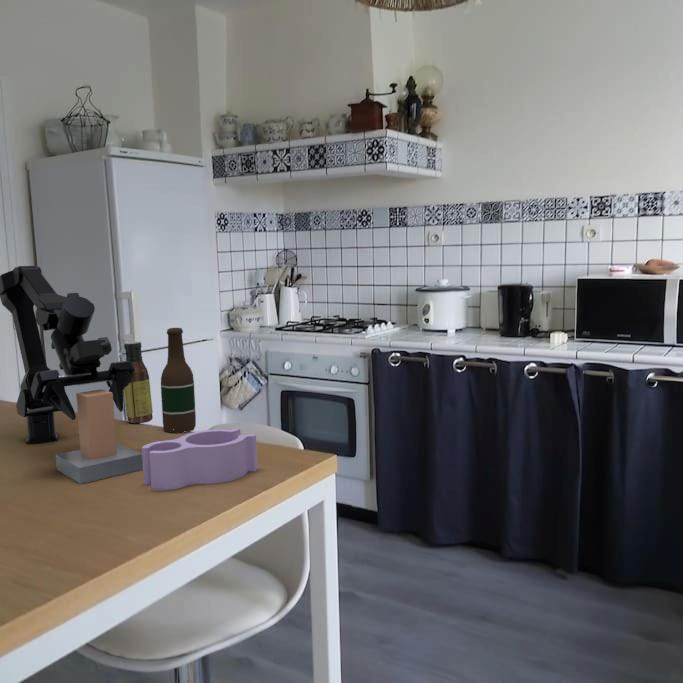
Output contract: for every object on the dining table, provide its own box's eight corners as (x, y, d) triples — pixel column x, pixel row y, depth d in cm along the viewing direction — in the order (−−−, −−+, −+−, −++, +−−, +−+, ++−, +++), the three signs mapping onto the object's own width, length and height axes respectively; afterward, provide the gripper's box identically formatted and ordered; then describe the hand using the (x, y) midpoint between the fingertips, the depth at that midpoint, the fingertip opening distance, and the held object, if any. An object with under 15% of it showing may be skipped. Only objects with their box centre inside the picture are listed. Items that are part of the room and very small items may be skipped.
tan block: (80, 454, 133) (76, 393, 131) (105, 449, 136) (101, 389, 134) (91, 459, 129) (86, 396, 127) (116, 454, 132) (112, 392, 131)
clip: (160, 497, 117) (158, 458, 116) (136, 479, 127) (133, 442, 126) (264, 474, 128) (263, 437, 127) (234, 458, 138) (233, 425, 137)
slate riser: (56, 469, 133) (55, 454, 133) (116, 456, 141) (115, 442, 141) (80, 484, 124) (79, 467, 124) (142, 469, 132) (141, 454, 132)
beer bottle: (167, 435, 157) (161, 330, 155) (159, 428, 164) (153, 328, 161) (200, 430, 161) (195, 328, 158) (191, 423, 168) (186, 325, 165)
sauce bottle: (156, 418, 174) (152, 340, 172) (147, 424, 168) (142, 343, 166) (131, 418, 175) (126, 340, 173) (121, 424, 169) (116, 344, 167)
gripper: (30, 328, 126) (57, 396, 119) (127, 320, 138) (156, 381, 131) (20, 366, 133) (44, 432, 126) (113, 356, 145) (140, 415, 138)
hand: (98, 414), depth 130 cm, fingers open, 9 cm apart
